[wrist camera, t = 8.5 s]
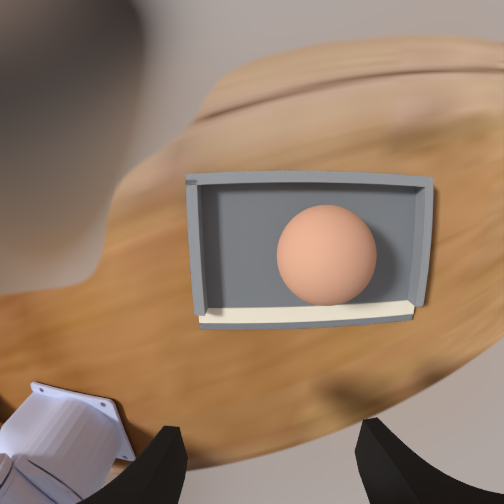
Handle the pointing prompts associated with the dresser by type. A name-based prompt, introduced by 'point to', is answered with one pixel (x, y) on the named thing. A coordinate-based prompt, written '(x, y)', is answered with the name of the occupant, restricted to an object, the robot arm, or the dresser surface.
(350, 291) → the ball
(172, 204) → the dresser surface
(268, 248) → the grey shallow tray
